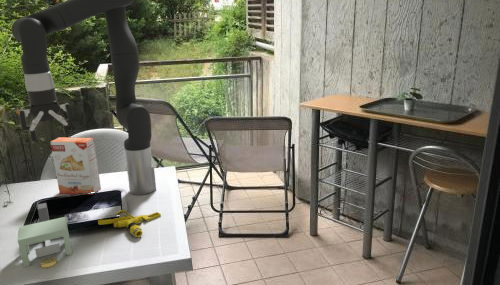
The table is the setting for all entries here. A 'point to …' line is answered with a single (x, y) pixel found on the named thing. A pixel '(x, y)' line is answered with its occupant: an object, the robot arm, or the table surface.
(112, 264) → the table surface
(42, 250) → the block
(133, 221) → the sprinkler
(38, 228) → the footstool
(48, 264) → the token
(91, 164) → the cracker box
